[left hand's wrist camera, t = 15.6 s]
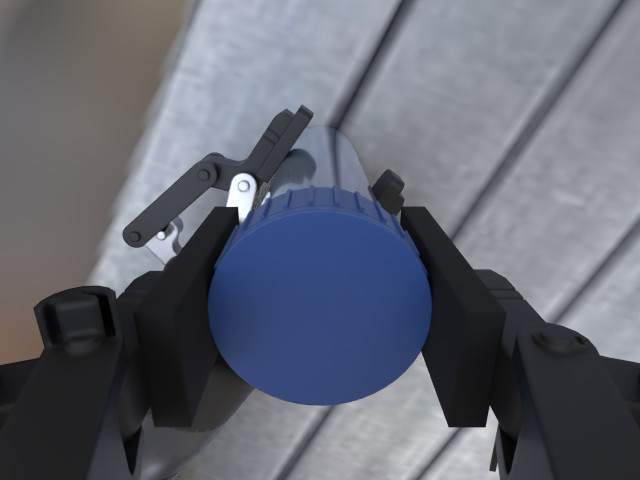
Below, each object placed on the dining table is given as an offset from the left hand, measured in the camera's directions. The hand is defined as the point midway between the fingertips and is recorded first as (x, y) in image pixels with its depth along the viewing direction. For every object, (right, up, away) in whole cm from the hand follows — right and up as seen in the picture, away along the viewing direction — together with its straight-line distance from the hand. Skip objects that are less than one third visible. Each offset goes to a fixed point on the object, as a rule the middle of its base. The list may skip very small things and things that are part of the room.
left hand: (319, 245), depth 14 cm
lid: (0, -2, -4) cm, 4 cm away
